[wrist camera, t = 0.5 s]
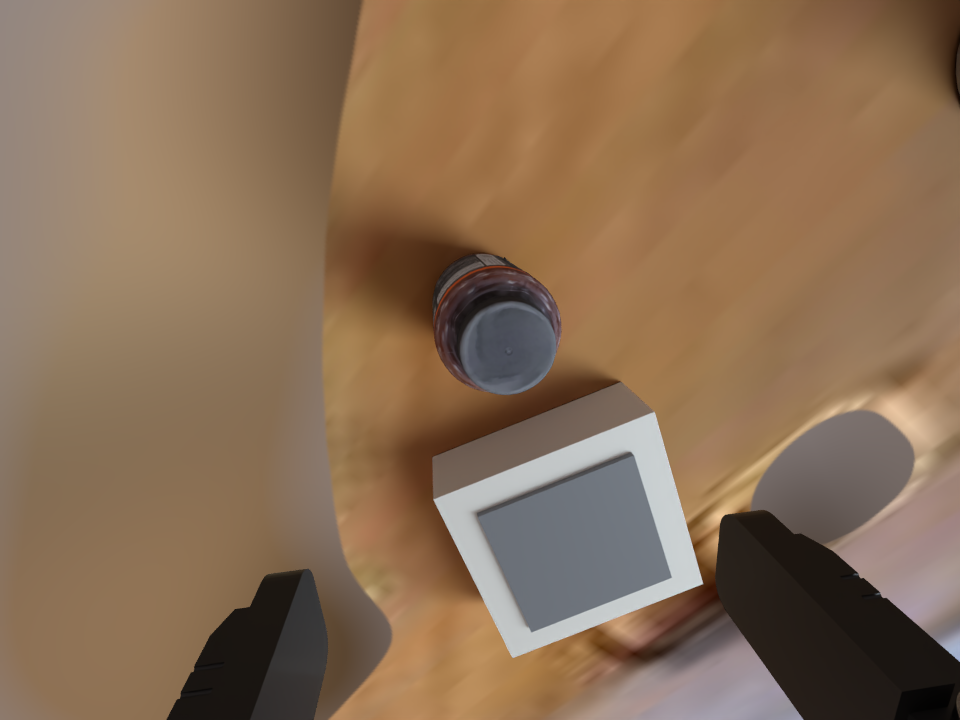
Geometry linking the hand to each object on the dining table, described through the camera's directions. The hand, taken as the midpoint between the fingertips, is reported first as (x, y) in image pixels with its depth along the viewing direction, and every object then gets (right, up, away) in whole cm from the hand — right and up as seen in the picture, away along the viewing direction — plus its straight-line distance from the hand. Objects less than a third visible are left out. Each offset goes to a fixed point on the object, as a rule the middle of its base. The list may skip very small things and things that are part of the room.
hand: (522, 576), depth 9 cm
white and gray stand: (+5, -6, +26) cm, 27 cm away
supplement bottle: (-1, +8, +21) cm, 22 cm away
